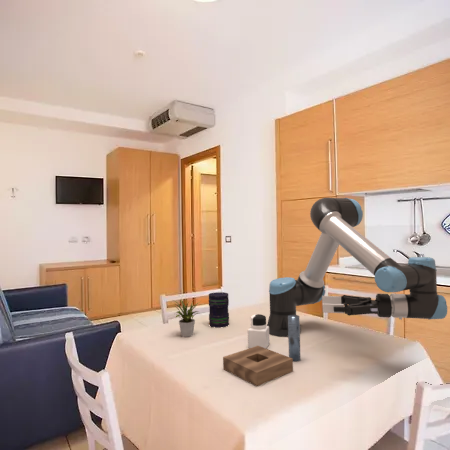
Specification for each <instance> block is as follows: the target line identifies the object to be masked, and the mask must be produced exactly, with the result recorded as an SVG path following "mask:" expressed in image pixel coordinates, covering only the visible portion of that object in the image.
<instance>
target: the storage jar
mask: <svg viewBox="0 0 450 450" xmlns="http://www.w3.org/2000/svg"><path fill="white" fill-rule="evenodd" d="M229 302H230V301H229V293H228V292H223V291H222V292H221V291H218V292H211V293H209V294H208V308H209V309H208V310H209V311H208V312H209V314H208V320H209V321H208V322H209V324H208V325H210V326H211V327H210V326H209V327H210V328H214V327H215V328H214V329H217V328H218V329H219V328H220V329H221V327H223V328H226V326H227V327H228V325H230V312H229V305H230V303H229Z"/></svg>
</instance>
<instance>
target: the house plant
mask: <svg viewBox="0 0 450 450" xmlns="http://www.w3.org/2000/svg"><path fill="white" fill-rule="evenodd" d="M171 301H174V302H175V303H174V305H175V306H174V307H175V308H176V309H177V310H178V311H176V312H175V315H176V316H175V318H178V317H179V318H180V319H179V321H178V324H179V329H180V335H181V336H182V337H185V338H186V337H187V338H189V337H192V336H193V335H194V329H195V323H196V320H195V319H194V316H196V315H198V314H199V312H200V311H198V310H195V311H194V309H195V308H196V307H197V305H198V304H199V303H201V302H202V300H201V301H199V302H197V303H196V304H193V302H194V301H192V302H191V304H190V306H189V308H188V305H189V302H190V301H187V302H186V304H185V303H184V301H183V300H182V299H180V302H181V305H182V306H181V305H180V303H179V302H178V301H177V300H173V299H172V300H171Z"/></svg>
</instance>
